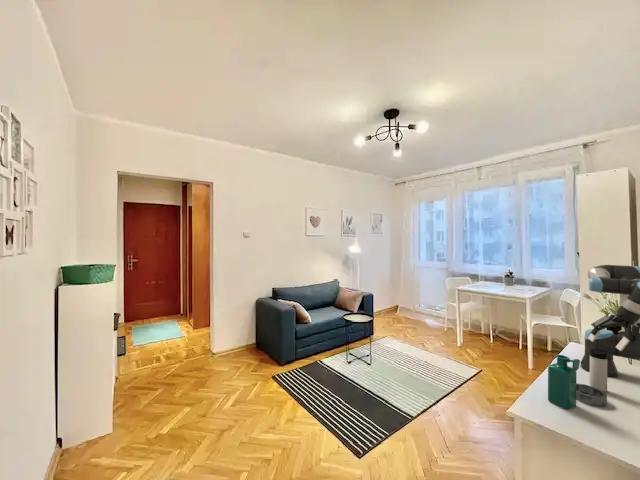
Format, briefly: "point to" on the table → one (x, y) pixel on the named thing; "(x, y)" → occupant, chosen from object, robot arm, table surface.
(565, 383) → the green bottle
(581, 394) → the ring collar
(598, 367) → the travel mug
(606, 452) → the table surface
